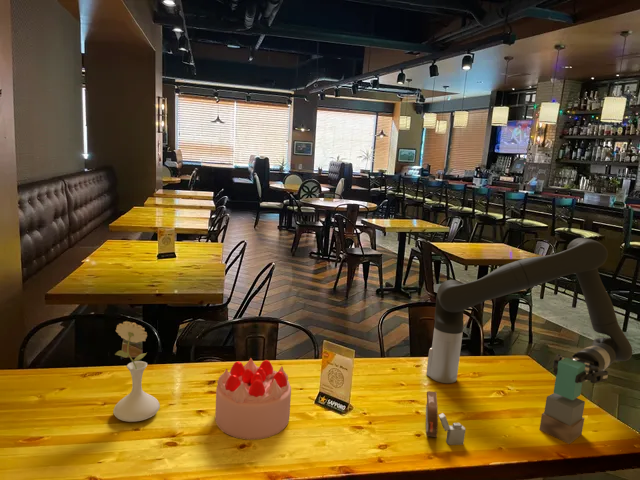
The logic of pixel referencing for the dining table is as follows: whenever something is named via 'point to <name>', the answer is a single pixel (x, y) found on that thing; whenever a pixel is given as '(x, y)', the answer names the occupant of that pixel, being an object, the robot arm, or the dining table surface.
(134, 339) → the flower in vase
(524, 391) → the dining table surface
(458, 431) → the lighter
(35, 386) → the dining table surface
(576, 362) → the teal pillar
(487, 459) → the dining table surface
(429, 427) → the tin
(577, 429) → the walnut base block
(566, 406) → the grey square block
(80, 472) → the dining table surface
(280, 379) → the cake
